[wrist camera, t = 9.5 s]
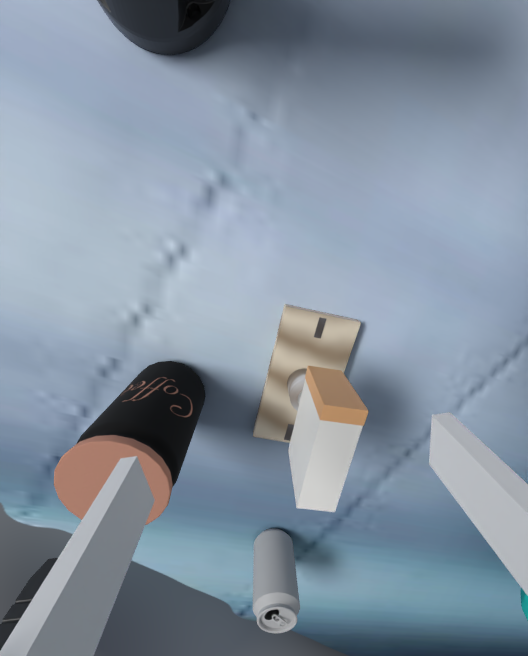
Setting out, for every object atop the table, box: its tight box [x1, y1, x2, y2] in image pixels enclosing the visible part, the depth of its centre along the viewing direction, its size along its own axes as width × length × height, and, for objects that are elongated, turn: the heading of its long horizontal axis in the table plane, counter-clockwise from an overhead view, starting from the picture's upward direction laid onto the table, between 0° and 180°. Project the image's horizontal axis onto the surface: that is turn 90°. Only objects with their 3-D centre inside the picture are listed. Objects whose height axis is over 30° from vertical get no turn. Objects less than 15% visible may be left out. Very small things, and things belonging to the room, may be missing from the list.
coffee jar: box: [54, 361, 205, 525], centre depth 33 cm, size 11×11×18 cm
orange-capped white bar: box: [288, 366, 368, 512], centre depth 31 cm, size 4×12×11 cm, turn 170°
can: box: [253, 529, 300, 633], centre depth 46 cm, size 8×8×12 cm
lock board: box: [253, 304, 361, 443], centre depth 39 cm, size 22×11×6 cm, turn 167°
